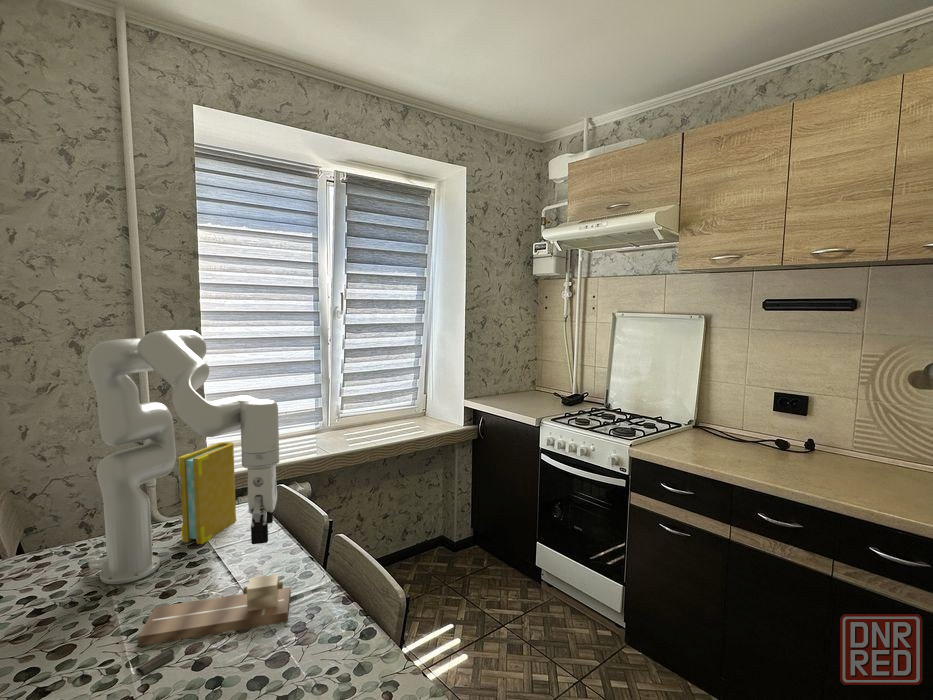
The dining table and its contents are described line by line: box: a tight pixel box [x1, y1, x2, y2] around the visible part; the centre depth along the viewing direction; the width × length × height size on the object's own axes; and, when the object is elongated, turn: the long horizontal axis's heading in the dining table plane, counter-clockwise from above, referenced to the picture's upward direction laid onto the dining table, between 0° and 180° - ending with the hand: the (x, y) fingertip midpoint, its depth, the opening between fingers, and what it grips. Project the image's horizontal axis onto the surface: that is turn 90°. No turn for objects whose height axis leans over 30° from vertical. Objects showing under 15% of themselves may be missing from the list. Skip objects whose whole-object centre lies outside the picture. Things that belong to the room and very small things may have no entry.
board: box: [137, 586, 292, 647], centre depth 104 cm, size 28×10×2 cm, turn 106°
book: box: [177, 441, 237, 545], centre depth 145 cm, size 17×7×25 cm, turn 168°
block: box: [135, 648, 176, 676], centre depth 91 cm, size 4×6×2 cm, turn 150°
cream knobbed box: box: [242, 573, 284, 611], centre depth 106 cm, size 8×4×5 cm, turn 106°
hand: (262, 532), depth 105 cm, fingers open, 9 cm apart
